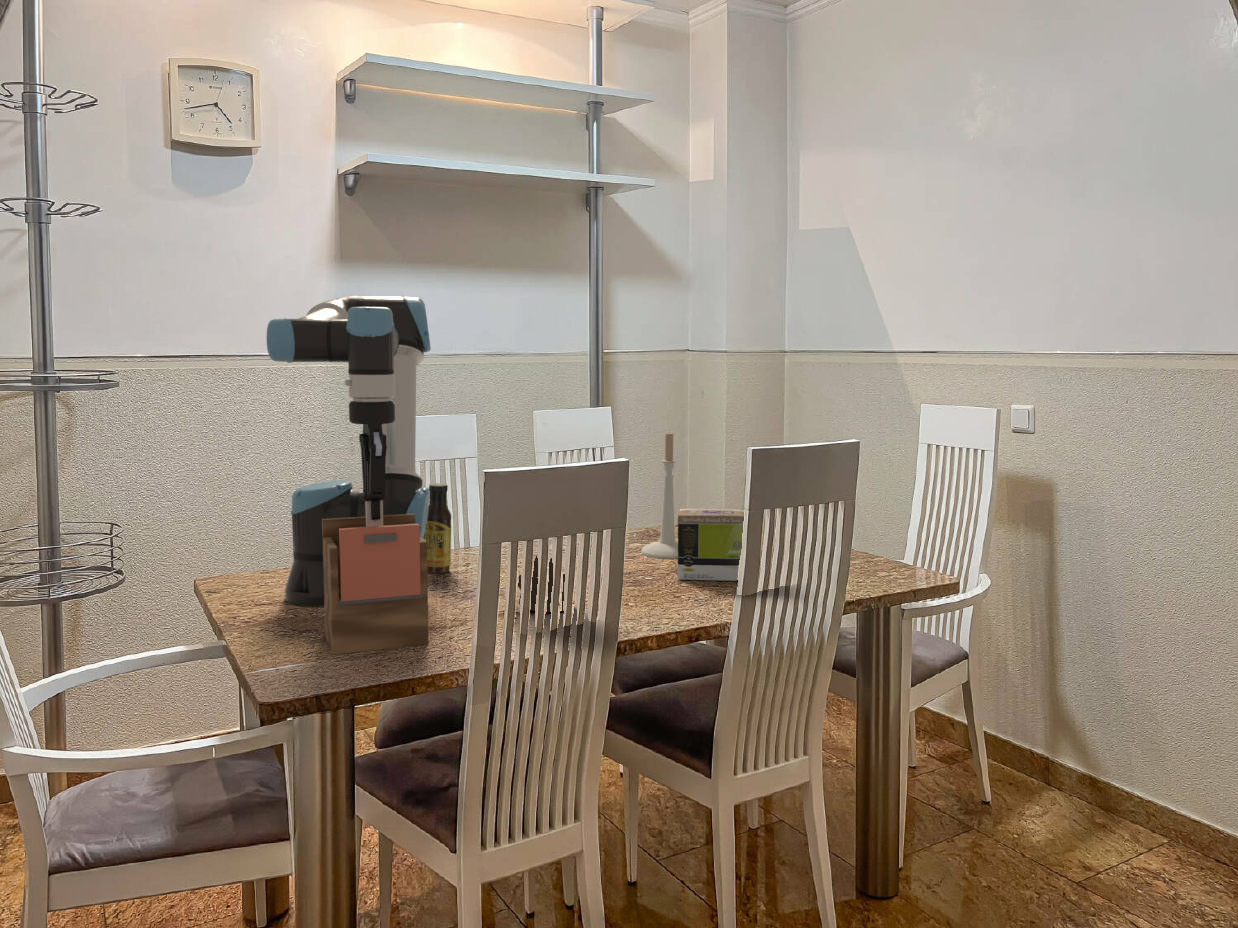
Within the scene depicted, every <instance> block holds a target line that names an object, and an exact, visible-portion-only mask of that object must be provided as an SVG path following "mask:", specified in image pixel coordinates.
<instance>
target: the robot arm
mask: <svg viewBox="0 0 1238 928" xmlns="http://www.w3.org/2000/svg"><path fill="white" fill-rule="evenodd" d="M266 327H267V328H266V347H267V348H266V349H267V353H268V356H269V358H270V360H272V361H274V362H278V363H279V362H281V363H287V364H290V363H348V371H347V372H348V379H346V380H344V385H345V386H346V387H348V386H349V387H348V397H350V398H351V399H352V400H351V401H349V403H348V416H349V417H348V418H349V419H348V420H349V422H350V423H351V424H354V425H362V433H359V435H358V439H359V441H358V442H359V445H360V446H359V447H360V457H361V470H362V471H361V473H362V474H361V475H362V476H361V477H362V487H354V485H353V484H352V481H350V480H347V479H345V480H343V479H342V480H341V479H337V480H329V481H322V482H316V483H312V484H308V485H307V484H306V485H303V486H301V487H298V488H297V489H296V490H294V492H293V494H292V496H291V511H290V514H291V522H292V523H291V524H292V525H291V527H292V548H293V549H292V553H293V554H292V555H293V561H292V565H291V568H290V571H289V575H288V578H287V581H286V585H285V590H284V591H285V592H284V593H285V594H284V595H285V597H284V598H285V601H286V602H287V603H289V604H290V605H296V606H303V607H324V577H323V542H322V519H331V518H348V517H365V516H366V527H371V526H383V515H399V514H415V524H419V525H420V536H421V537H422V538H423V537H424V534H425V529H426V524H427V518H428V510H429V501H430V491H429V487H426V486H425V485H424V486H423V478H422V477H421V476H420V475H419V474H418V473H417V472H416V436H417V435H416V434H417V433H416V432H417V431H416V430H417V429H416V422H417V421H416V420H417V416H416V415H417V366H418V365H419V364H421V363H422V362H423V361H424V360H425V359H424V357H425V353H428V352H430V351H431V350H432V349H431V348H432V347H431V340H430V333H429V324H428V319H427V311H426V304H425V302H424V300H423V299H422V298H419V297H415V296H413V297H411V296H405V295H401V296H368V295H367V296H366V295H365V296H363V295H362V296H361V295H360V296H359V295H351V296H350V295H349V296H342V297H341V296H340V297H337V298H333V299H329V300H326V301H323V302H321V303H318V304H316V305H314V306H313V307H312V308H310V309H309V310H308V312H307V313H306V315H304V316H301V317H298V318H288V317H285V318H275V319H274V318H273V319H271V320H269V322H268V324H267V326H266Z"/></svg>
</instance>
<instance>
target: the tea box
mask: <svg viewBox="0 0 1238 928" xmlns="http://www.w3.org/2000/svg"><path fill="white" fill-rule="evenodd" d="M743 521H744V508H690V507H688V508H684V507H683V508H679V510H678V514H677V542H678V558H677V580H682V581H683V580H684V581H685V580H686V581H687V580H688V581H723V582H724V581H727V582H730V581H731V582H738V581H737V577H738V565H739V560H740V555H741V549H742V533H743Z"/></svg>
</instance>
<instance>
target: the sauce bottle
mask: <svg viewBox="0 0 1238 928" xmlns="http://www.w3.org/2000/svg"><path fill="white" fill-rule="evenodd" d="M428 485H429V486H428V488H429V492H430V498H429V510H428V518H427V524H426V529H425V534H424V537H423V539H424V540H426V541H427V574H436V575H441V574H445V573H447V572H450V569H451V568H450V567H451V563H452V562H451V559H452V557H451V556H452V514H451V511H450V509H449V508H448V505H447V502H448V501H447V497H448V496H447V495H448V494H447V492H448V488H449V487H448V484H447V483H440V482H439V483H438V482H436V483H429V484H428Z"/></svg>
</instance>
